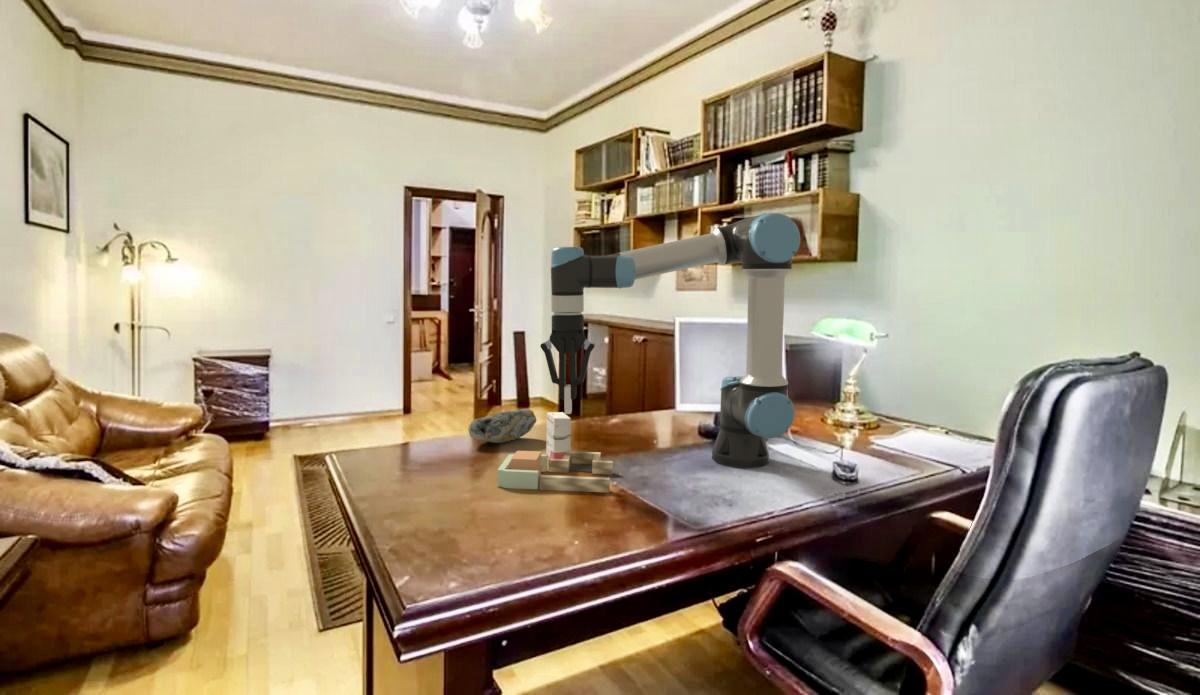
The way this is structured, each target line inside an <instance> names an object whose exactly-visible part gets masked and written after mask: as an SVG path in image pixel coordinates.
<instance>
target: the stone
mask: <svg viewBox="0 0 1200 695" xmlns="http://www.w3.org/2000/svg"><path fill="white" fill-rule="evenodd" d="M536 422H537V417H536V415H535V413H534V411H533V410H532V409H528V408H520V409H515V410H505V411H500V412H496V413H494V414H492V415H488V416H485V417H481V418H475V419H473V420H472V421H470V423H469V425H468V434H469V437H471V439H473V440H476V441H481V442H487V443H488V442H489V443H493V444H495V443H496V444H499V443H500V444H503V443H509V442H511V440H512V441H514V440H518V439H520V438H522V437H523V436H525V435H526V434H528V433H529V432H530V431H531V430H532V429H533V427H534V426H535V424H536Z"/></svg>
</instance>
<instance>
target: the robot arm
mask: <svg viewBox="0 0 1200 695" xmlns="http://www.w3.org/2000/svg"><path fill="white" fill-rule="evenodd" d="M799 230H800V229H799V227H798V226H797V224H796V222H794V220H792V218H790V217H789V216H788V215H786V214H783V213H780V212H767V213H766V212H764V213H761V214H758V215H755V216H754V215H753V216H750V217H749V216H748V217H747V218H744V219H740V220H739V221H736V222H733V223H731V224H728V225H725V226H720V227H716V228H713V230H712V231H711V233H707V234H702V235H697V236H692V237H688V238H683V239H678V240H673V241H669V242H664V243H659V244H654V245H650V246H646V247H640V248H636V249H631V250H627V251H623V252H622V251H621V252H618V253H612V254H606V255H588V254H585V252H584V248H582V247H581V246H556V247H554V248H553V249H552V250H551V255H550V256H551V257H550V258H551V259H550V263H551V264H550V283H551V284H550V286H551V289H550V291H551V295H550V298H551V304H550V305H551V310H550V311H551V312H552V313H553V314H552V315H551V333H550V335H549V339H548V340H546V341H544V342H542V343H541V344H540V349H541V350H542V352H543V353H544V356H545V359H546V363H547V367H548V372H549V375H550V380H551V382H552V384H555V385H557V386H559V398H560V400H564V405H563V406H564V412H563V413H564V414H566V415H571V414H572V412H573V400H576V397H577V385H580V384H583V383H584V381H585V378H586V373H587V369H588V364H589V360H590V356H591V354H592V352H593V350H594V348H595V347H596V343H594V342H591V341H589V339H587V336H586V334H585V330H584V329H585V328H584V327H585V326H584V324H585V323H584V322H585V320H584V318H585V316H584V314H582V313H584V311H585V310H584V308H585V307H584V306H585V304H584V296H585V295H584V293H585V292H584V289H585V288H586V289H592V288H593V289H595V288H598V289H619V290H620V289H622V288H625V289H626V288H628V289H629V288H631V287H633V286H634V284H635V280H639V279H644V278H645V279H646V278H650V277H654V276H658V275H659V276H660V275H663V274H667V273H673V272H678V271H683V270H688V269H691V268H696V267H701V266H705V265H710V264H715V263H717V264H719V265H721V266H724V265H728V264H738V263H741V264H742V266H741V271H742V272H743V273H744V274H745V275H746V276H747V279H748V282H747V283H748V284H747V287H748V288H747V322H746V324H747V325H746V326H747V327H746V328H747V329H746V336H747V337H746V368H745V374H744V375H743V376H742V375H741V376H737V375H736V376H725V377H723V379H722V381H721V387H720V408H719V410H720V411H719V416H720V417H719V431H718V434H717V436H716V440H715V441H714V444H713V447H712V450H711V451H712V452H711V458H712V460H713V461H714V462H716V463H718V464H720V465H723V466H728V467H734V468H746V469H749V468H759V467H760V468H761V467H765V466H767V465H768V464H769V462H770V453H769V448H768V446H767V442H766V439H774V438H778V437H780V436H783V435H784V434H785V433H786V432H788V430H789V429H790V428H791V426H792V424H793V423H794V420H795V417H796V410H795V406H794V404H793V402H792V400H791V398H790V397H789V380H787V379H786V378H785V377H784V376H783V351H784V348H783V347H784V346H783V345H784V320H785V319H784V316H785V315H784V314H785V312H784V311H785V310H784V309H785V280H786V276H787V275H789V273H790V272H791V271H792V270H793V269H792V266H793V265H792V264H793V257H794V256H795V255H796V254H797V252H798V251H799V249H800V245H801V234H800V231H799ZM552 345H553V347H554V348H555V350H556V351H557V352H558V358H559V360H558V362H559V363H558V365H559V369H558V370H559V371H558V372H559V374H558V372H557V370H556V365H555V361H554V357H553V354H552V353H553V352H552V350H551V349H552V348H553V347H552ZM583 345H584V346H583ZM582 346H583V348H584V350H585V352H584V355H583V357H582V358H583V359H582V363H581V367H580V372H579V376H578V378H577V355H578V354H577V353H578V351H579V350H580V349H581V348H582ZM567 354H569V359H570V360H569V362H570V363H569V365H570V366H569V368H570V369H569V371H570V372H569V373H570V374H569V375H570V377H569V378H570V380H569V381H570V384H566V383H567V377H566V375H567V373H566V371H567V370H566V369H567V366H566V365H567V364H566V363H567V362H566V361H567V360H566V359H567ZM558 376H559V377H558Z"/></svg>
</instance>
